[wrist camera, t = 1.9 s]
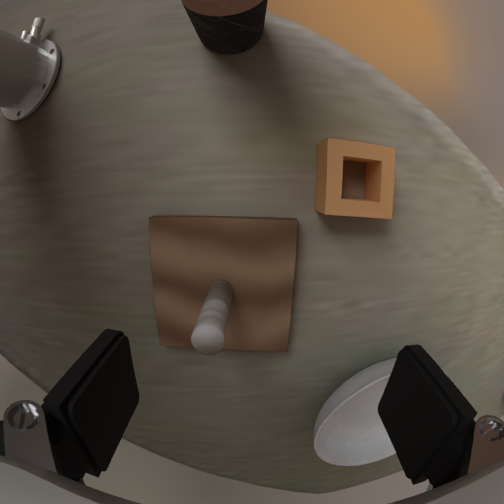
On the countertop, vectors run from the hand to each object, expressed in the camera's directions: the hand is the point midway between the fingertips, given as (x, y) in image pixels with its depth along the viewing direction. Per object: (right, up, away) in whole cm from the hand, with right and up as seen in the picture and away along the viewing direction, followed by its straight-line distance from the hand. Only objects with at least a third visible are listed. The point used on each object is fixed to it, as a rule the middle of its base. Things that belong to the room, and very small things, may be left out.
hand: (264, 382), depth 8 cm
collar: (+10, +12, +19) cm, 25 cm away
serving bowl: (+18, -17, +27) cm, 37 cm away
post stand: (-4, +1, +22) cm, 22 cm away
